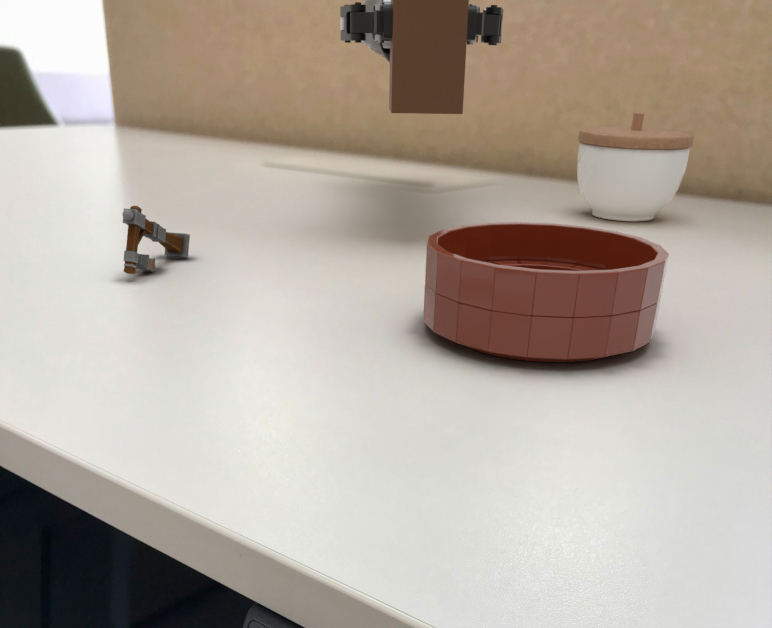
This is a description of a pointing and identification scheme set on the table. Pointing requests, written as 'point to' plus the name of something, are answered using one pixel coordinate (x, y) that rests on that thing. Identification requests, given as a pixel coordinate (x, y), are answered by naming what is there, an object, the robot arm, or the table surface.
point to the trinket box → (630, 169)
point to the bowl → (543, 290)
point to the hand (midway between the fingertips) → (430, 22)
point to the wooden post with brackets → (141, 227)
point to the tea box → (428, 56)
